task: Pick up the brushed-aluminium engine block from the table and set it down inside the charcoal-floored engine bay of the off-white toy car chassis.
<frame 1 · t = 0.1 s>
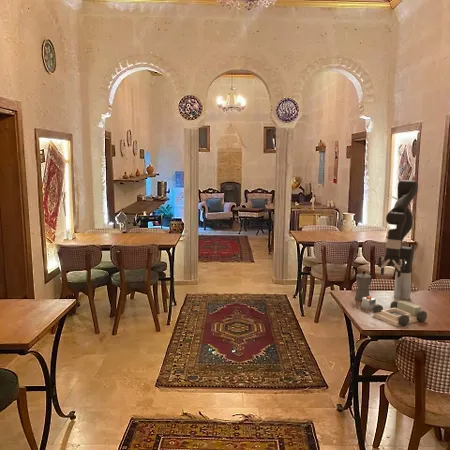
hand: (390, 276, 250), 22 cm above the table, tool pointing down, fingers open, 8 cm apart
engine block: (368, 308, 263), on the table
coffeepot: (363, 298, 282), on the table
chassis: (399, 318, 247), on the table
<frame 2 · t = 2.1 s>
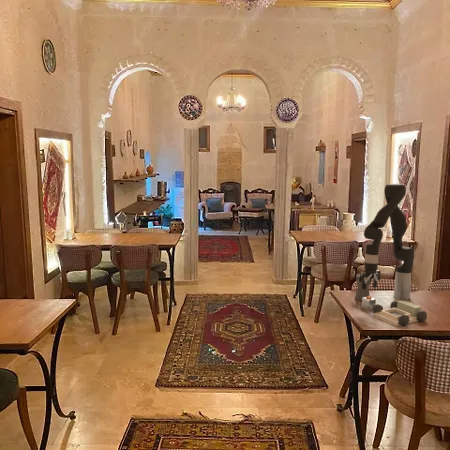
hand: (369, 288, 261), 12 cm above the table, tool pointing down, fingers open, 8 cm apart
nothing on the table moved.
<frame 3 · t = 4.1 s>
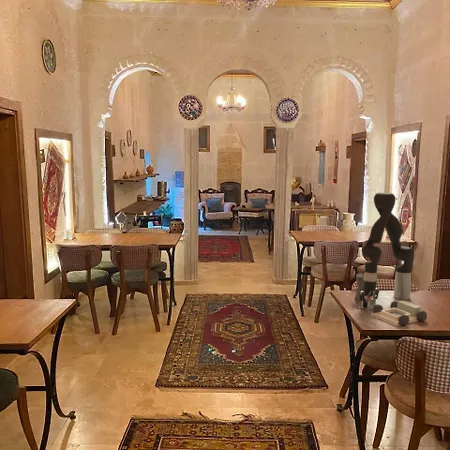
hand: (368, 306, 263), 1 cm above the table, tool pointing down, fingers closed on engine block, 5 cm apart
engine block: (368, 308, 263), on the table, touching gripper
everything else where it was.
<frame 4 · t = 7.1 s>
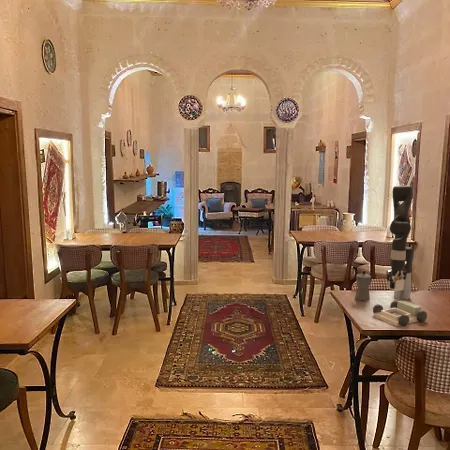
hand: (395, 287, 244), 18 cm above the table, tool pointing down, fingers closed on engine block, 5 cm apart
engine block: (395, 289, 244), point 17 cm above the table, touching gripper
everything else where it was.
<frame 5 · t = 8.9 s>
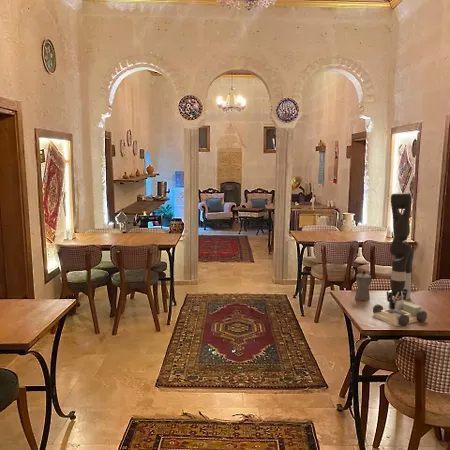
hand: (395, 308, 245), 6 cm above the table, tool pointing down, fingers closed on engine block, 5 cm apart
engine block: (395, 309, 245), point 6 cm above the table, touching gripper
everything else where it was.
when the fingers open (4 cm above the table, at t = 10.2 s): engine block drops 1 cm, resting on chassis.
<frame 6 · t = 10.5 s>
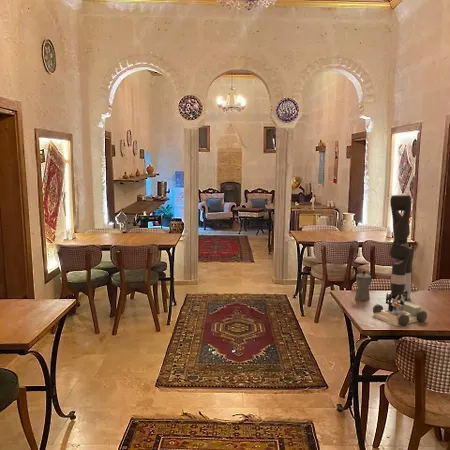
hand: (395, 310, 245), 5 cm above the table, tool pointing down, fingers open, 8 cm apart
engine block: (395, 315, 246), point 2 cm above the table, touching chassis
everything else where it was.
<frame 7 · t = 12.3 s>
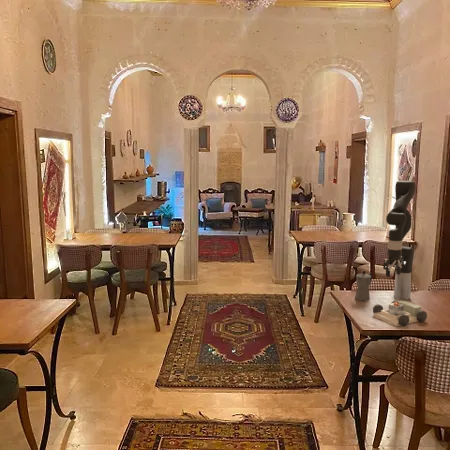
hand: (393, 275, 253), 22 cm above the table, tool pointing down, fingers open, 8 cm apart
nothing on the table moved.
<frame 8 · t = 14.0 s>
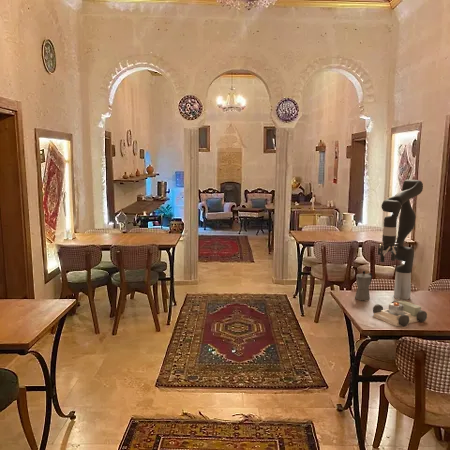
hand: (387, 261, 261), 28 cm above the table, tool pointing down, fingers open, 8 cm apart
nothing on the table moved.
at the end: engine block 0.1 cm from the target spot on the chassis, point 2.2 cm above the chassis's base; engine block tilted 0°; the gripper is holding nothing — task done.
